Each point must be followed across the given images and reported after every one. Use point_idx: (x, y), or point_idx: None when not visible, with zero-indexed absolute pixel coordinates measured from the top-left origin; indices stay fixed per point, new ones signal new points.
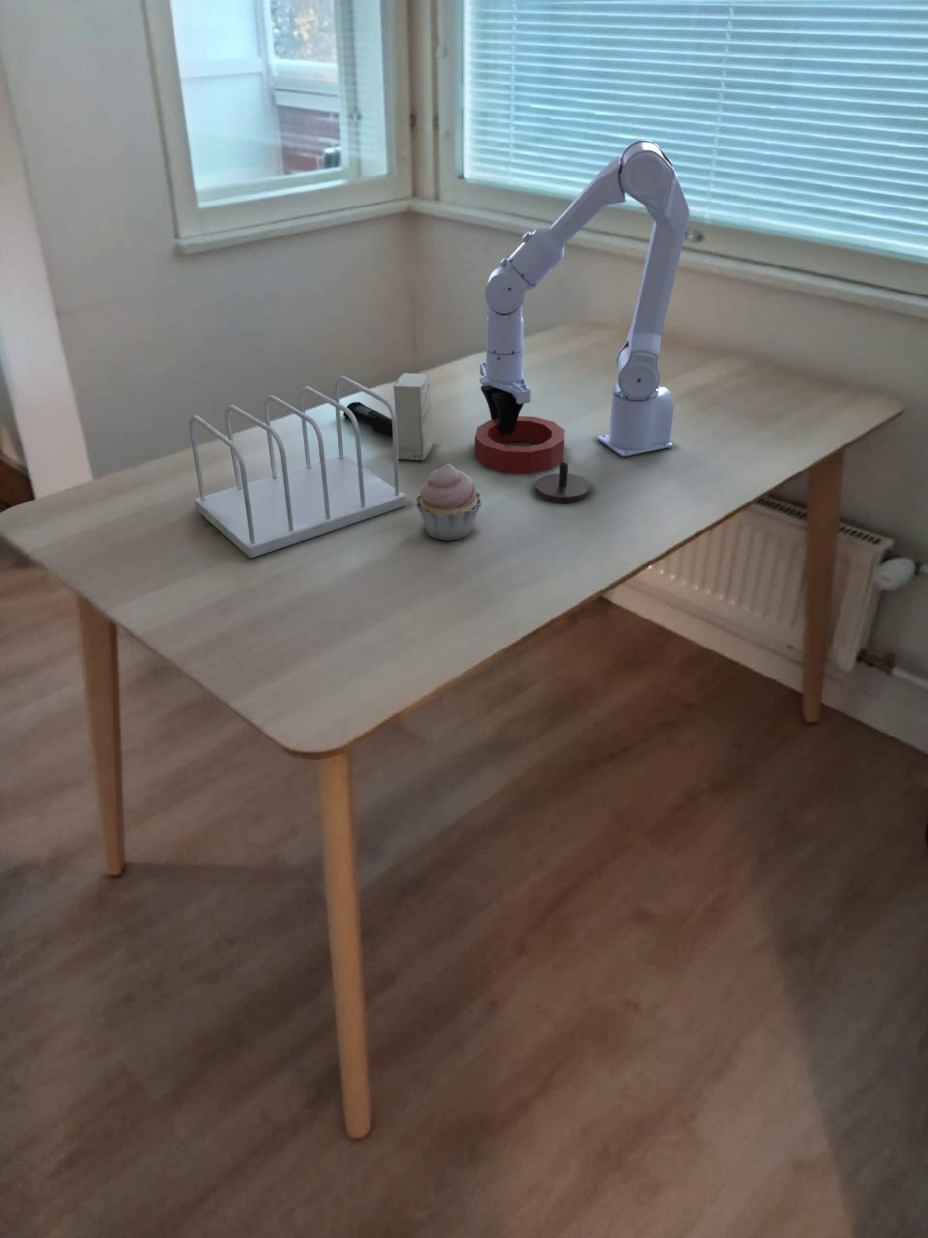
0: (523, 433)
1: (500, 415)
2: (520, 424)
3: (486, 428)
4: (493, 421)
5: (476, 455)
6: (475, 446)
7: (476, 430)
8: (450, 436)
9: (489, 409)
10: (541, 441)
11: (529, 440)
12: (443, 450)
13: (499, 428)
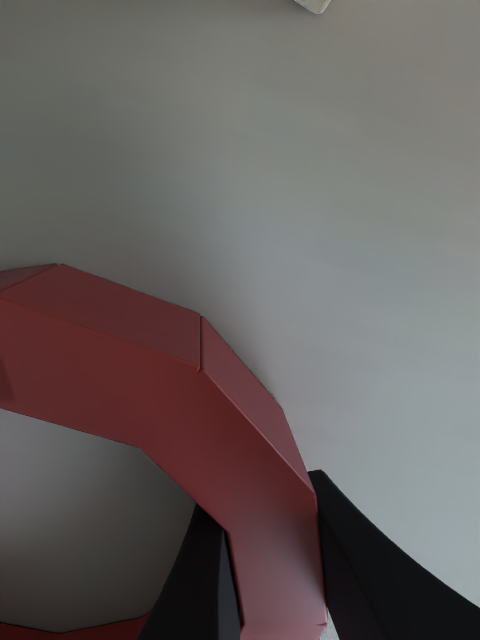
0: None
1: (145, 623)
2: None
3: (152, 430)
4: (273, 506)
5: (24, 270)
6: (13, 278)
7: (130, 343)
8: (421, 199)
9: (396, 546)
10: None
11: None
12: (227, 84)
13: None
